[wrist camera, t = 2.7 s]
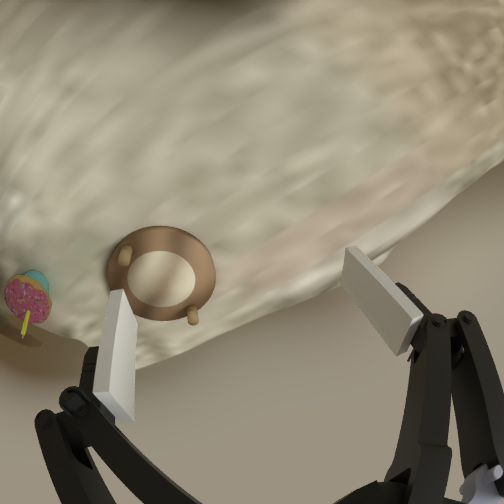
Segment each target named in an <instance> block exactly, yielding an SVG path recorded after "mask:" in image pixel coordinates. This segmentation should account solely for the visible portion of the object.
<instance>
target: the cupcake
mask: <svg viewBox="0 0 504 504" xmlns="http://www.w3.org/2000/svg"><path fill="white" fill-rule="evenodd" d="M48 289H49V285H48V281H47V279H46V278H45V277H44V275H42V274H41V273H40V272H38V271H35V270H31V271H28V272H27V273H26V274H24V275H15V276H14V277H12V278H11V279H10V280H9V281H8V284H7V287H6V290H5V297H6V298H5V299H6V303H7V305H8V306H9V308H10V310H11V311H12V312H13V314H15V316H17V317H18V318H19V319H21V320H23V321H24V323H23V327H22V331H21V334H22V338H23V337H24V335H25V332H26V328H27V324H28V323H30V324H31V323H32V324H37V323H42V322H44V320H46V319H47V317H48V316H49V314H50V311H51V306H52V302H51V300H50V298H49V294H48Z"/></svg>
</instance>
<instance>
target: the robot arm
mask: <svg viewBox="0 0 504 504" xmlns="http://www.w3.org/2000/svg"><path fill="white" fill-rule="evenodd" d="M341 285H342V286H343V287H344V288H345V290H346V291H347V292H348V294H349V295H350V296H351V298H352V299H353V300H354V301H355V303H356V304H357V305H358V307H359V308H360V309H361V310H362V312H363V313H364V314H365V316H366V317H367V318H368V319H369V321H370V322H371V323H372V325H373V326H374V327H375V329H376V330H377V331H378V333H379V334H380V335H381V337H382V338H383V339H384V341H385V342H386V343H387V345H388V346H389V347H390V349H391V350H392V351H393V353H394V354H395V356H398V355H400V354H402V353H404V352H406V351H407V350H408V348H409V346H410V344H411V345H412V347H413V350H412V352H411V354H410V356H409V358H408V360H407V361H408V362H409V361H410V359H411V366H410V375H409V384H408V391H407V397H406V404H405V410H404V415H403V421H402V425H401V430H400V435H399V439H398V444H397V448H396V452H395V457H394V460H393V463H392V465H391V466H390V468H389V470H388V472H387V474H386V476H385V479H384V482H377V480H376V481H374V482H372V483H370V484H368V485H366V486H363V487H361V488H359V489H357V490H355V491H353V492H351V493H350V494H348V495H346V496H344V497H343V498H341V499H339V500H338V501H336V502H335V503H333V504H497V503H499V501H501V500H502V499H504V393H503V389H502V386H501V382H500V379H499V376H498V373H497V370H496V367H495V364H494V361H493V358H492V356H491V353H490V350H489V347H488V345H487V342H486V340H485V337H484V335H483V332H482V330H481V327H480V325H479V323H478V321H477V318H476V317H475V315H474V314H472V313H471V312H469V311H465V310H464V311H461V312H459V314H458V316H457V318H452V319H446V317H444V316H443V315H440V314H432V313H431V312H430V311H429V310H428V309H427V308H426V307H425V306H424V305H423V304H422V303H421V302H420V300H419V299H418V298H416V297H415V295H414V294H412V292H411V291H410V290H409V289H408V288H407V287H406V286H404V285H402V284H400V283H395V284H394V283H393V282H392V281H391V279H389V277H387V275H385V273H384V272H383V271H382V270H380V268H379V267H378V266H377V265H375V264H374V263H373V262H372V261H371V260H370V259H369V258H368V257H367V256H366V255H365V254H364V253H363V252H362V251H361V250H360V249H359V248H358V247H357V246H353V247H348V248H346V250H345V257H344V265H343V271H342V278H341ZM137 327H138V324H137V321H136V319H135V317H134V314H133V312H132V310H131V307H130V305H129V302H128V300H127V297H126V295H125V292H124V290H123V289H119V290H113V291H111V292H110V297H109V301H108V305H107V310H106V314H105V319H104V324H103V329H102V334H101V339H100V345H99V346H96V347H89V349H88V351H87V352H86V354H85V356H84V361H83V367H82V373H81V378H80V384H79V387H76V386H72V387H68V388H66V389H65V390H64V391H63V392H62V393H61V395H60V397H59V404H60V407H61V408H62V409H63V410H64V411H63V412H60V413H57V414H54V413H53V412H52V411H51V410H47V409H45V410H42V411H40V412H39V413H38V414H37V416H36V418H35V429H36V433H37V436H38V440H39V444H40V447H41V450H42V454H43V457H44V460H45V463H46V466H47V469H48V471H49V474H50V477H51V479H52V482H53V484H54V487H55V490H56V492H57V494H58V497H59V499H60V501H61V503H62V504H116V503H115V501H114V499H113V497H112V495H111V494H110V492H109V490H108V488H107V486H106V485H105V483H104V481H103V479H102V477H101V475H100V473H99V471H98V469H97V467H96V466H95V463H94V461H93V459H92V457H91V455H90V452H89V450H88V448H87V447H90V446H92V447H93V448H94V450H95V451H96V452H97V454H98V455H99V456H100V457H101V459H102V460H103V461H104V462H105V463H106V464H107V466H108V467H109V468H110V469H111V470H112V471H113V472H114V474H115V475H116V476H117V477H118V478H119V479H120V480H121V481H122V482H123V483H124V484H125V486H126V487H127V488H128V489H129V490H130V491H131V492H132V493H133V494H134V495H135V496H136V497H138V499H139V500H141V501H142V502H143V503H144V504H202V503H201V502H199V501H198V500H196V499H195V498H194V497H193V496H191V495H190V494H188V493H187V492H186V491H185V490H184V489H182V488H181V487H180V486H178V485H177V484H176V483H175V482H174V481H172V480H171V479H170V478H169V477H168V476H167V475H165V474H164V473H163V472H162V471H161V470H160V469H159V468H157V467H156V466H155V465H154V464H153V463H152V462H151V461H150V460H149V459H148V458H147V457H146V456H144V455H143V454H142V453H141V452H140V451H139V450H138V449H137V448H136V447H135V446H134V445H133V444H132V443H131V442H130V441H129V440H128V438H127V437H126V436H125V435H124V434H123V433H122V432H121V431H120V430H119V429H118V428H117V427H116V426H115V418H116V419H117V420H118V421H119V422H120V423H125V422H135V412H134V411H135V410H134V409H135V406H134V404H135V401H134V400H135V399H134V398H135V397H134V396H135V360H136V341H137ZM463 348H464V350H463ZM451 394H452V399H453V405H454V410H455V416H456V423H457V429H458V437H459V446H460V457H461V465H462V471H463V475H464V478H465V481H464V483H463V485H461V487H460V490H459V492H460V494H461V495H463V498H462V501H461V502H460V501H455V500H452V499H448V498H444V494H445V490H446V486H447V481H448V476H449V470H450V465H451V458H452V449H451V448H450V447H448V445H447V440H448V431H449V419H450V407H451Z"/></svg>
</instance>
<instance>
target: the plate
mask: <svg viewBox="0 0 504 504" xmlns="http://www.w3.org/2000/svg"><path fill="white" fill-rule="evenodd" d="M108 282H109V286H110V289H111V291H113V290H119V289H123V290H124V292H125V295H126V297H127V300H128V302H129V305H130V307H131V310H132V312H133V313H134V314H135V315H138V316H140V317H143V318H146V319H150V320H157V321H169V320H176V319H180V318H183V317H186V316H187V317H188V323H189V324H190V325H196V324H198V322H199V320H198V313H197V310H199V309H200V308H201V307H202V306H203V305H204V304H205V303H206V302H207V301H208V300H209V298H210V296H211V295H212V293H213V290H214V287H215V282H216V272H215V268H214V263H213V260H212V257H211V255H210V253H209V251H208V249H207V248H206V247H205V245H204V244H203V243H202V242H201V241H200V240H199V239H197V238H196V237H195V236H193V235H192V234H190V233H188V232H186V231H183V230H181V229H178V228H174V227H168V226H151V227H146V228H142V229H139V230H137V231H135V232H133V233H131V234H129V235H128V236H126V237H125V238H124V239H123V240H122V241H121V242H120V243H119V244H118V245H117V247H116V248H115V250H114V252H113V254H112V257H111V260H110V263H109V266H108Z"/></svg>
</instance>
